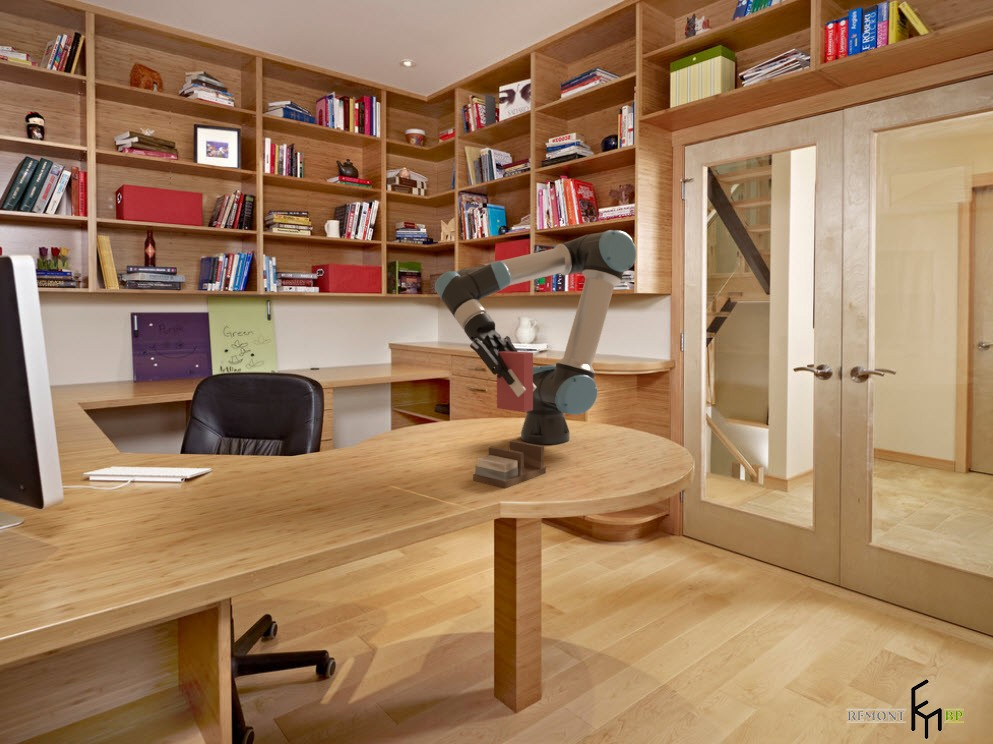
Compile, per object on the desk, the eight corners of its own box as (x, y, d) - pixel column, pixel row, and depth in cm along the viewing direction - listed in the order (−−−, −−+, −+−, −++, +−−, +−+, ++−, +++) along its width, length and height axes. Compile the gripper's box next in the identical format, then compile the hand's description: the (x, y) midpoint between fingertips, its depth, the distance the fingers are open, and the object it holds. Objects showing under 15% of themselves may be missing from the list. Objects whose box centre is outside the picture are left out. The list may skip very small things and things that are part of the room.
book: (505, 406, 156) (505, 351, 155) (532, 410, 151) (532, 352, 149) (496, 408, 154) (496, 351, 152) (524, 412, 148) (524, 353, 146)
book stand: (514, 466, 162) (514, 439, 161) (545, 472, 155) (545, 445, 154) (473, 480, 149) (472, 451, 149) (505, 488, 143) (504, 458, 142)
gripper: (489, 330, 166) (538, 397, 157) (445, 333, 153) (496, 406, 145) (504, 310, 162) (556, 378, 153) (460, 312, 149) (514, 386, 141)
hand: (527, 392), depth 149 cm, fingers closed on book, 3 cm apart
